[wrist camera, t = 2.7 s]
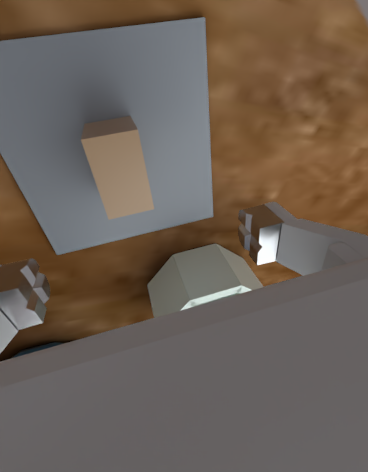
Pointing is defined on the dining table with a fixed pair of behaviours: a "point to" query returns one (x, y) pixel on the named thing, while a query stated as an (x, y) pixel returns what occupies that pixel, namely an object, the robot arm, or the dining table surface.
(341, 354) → the robot arm
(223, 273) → the bowl
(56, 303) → the dining table surface
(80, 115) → the cover
